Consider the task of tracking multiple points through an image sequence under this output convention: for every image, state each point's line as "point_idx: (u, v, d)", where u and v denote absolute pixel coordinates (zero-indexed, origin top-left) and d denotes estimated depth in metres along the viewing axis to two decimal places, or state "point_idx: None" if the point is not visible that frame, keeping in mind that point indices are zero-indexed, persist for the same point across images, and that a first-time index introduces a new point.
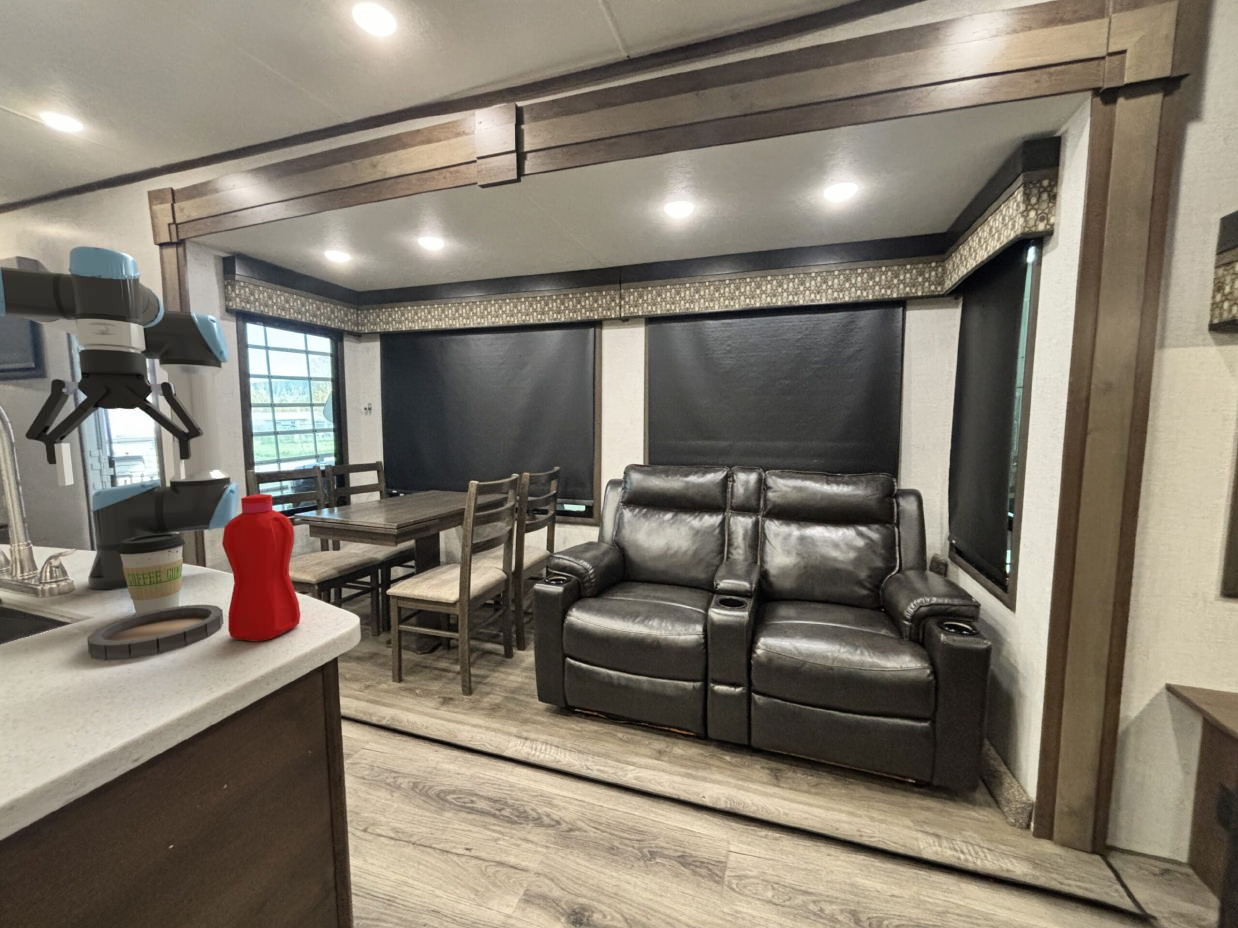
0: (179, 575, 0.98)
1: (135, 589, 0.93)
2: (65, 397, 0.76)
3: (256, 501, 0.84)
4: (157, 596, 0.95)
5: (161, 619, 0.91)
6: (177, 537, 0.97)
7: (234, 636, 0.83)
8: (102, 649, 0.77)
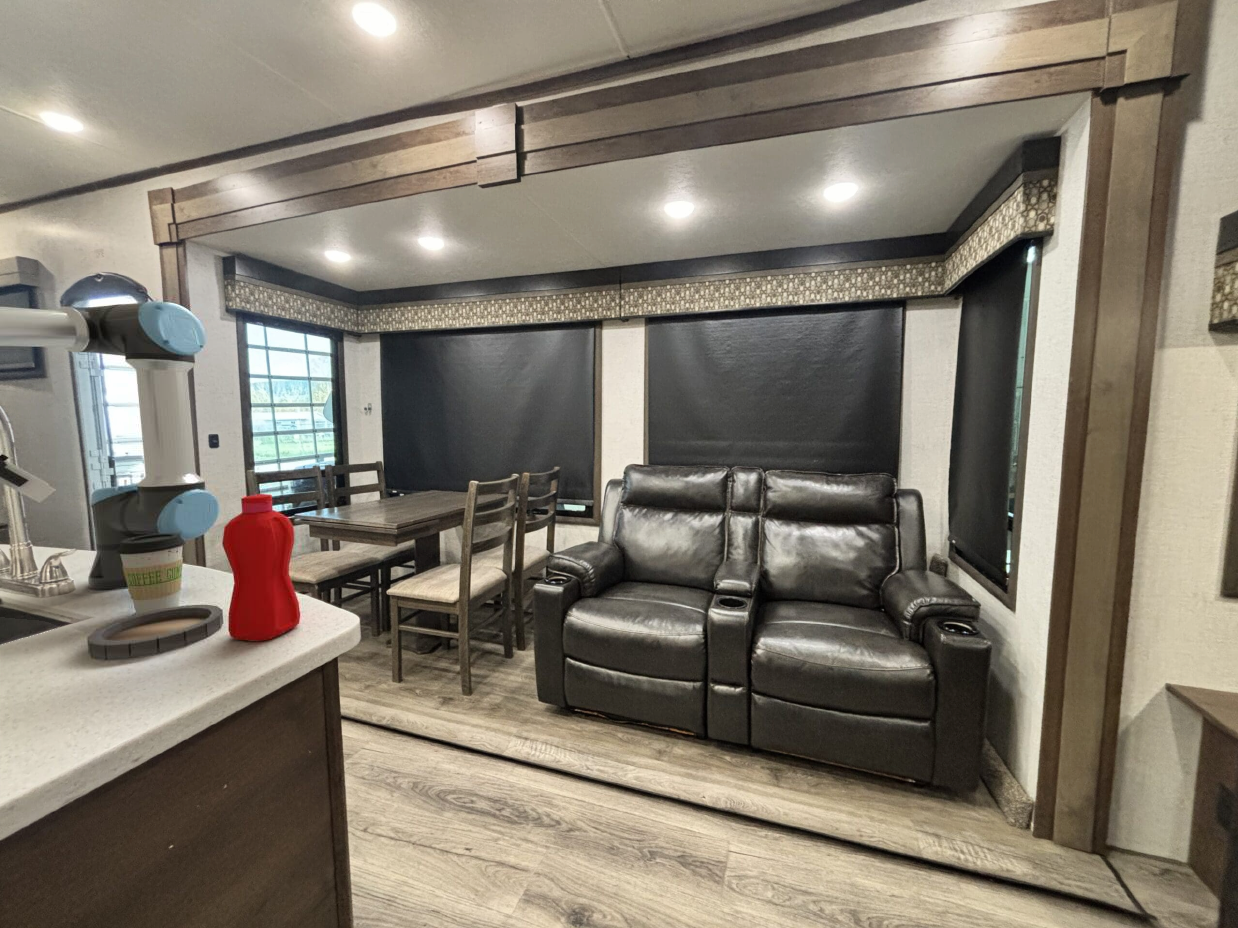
0: (179, 575, 0.98)
1: (135, 589, 0.93)
2: None
3: (256, 501, 0.84)
4: (157, 596, 0.95)
5: (161, 619, 0.91)
6: (177, 537, 0.97)
7: (234, 636, 0.83)
8: (102, 649, 0.77)
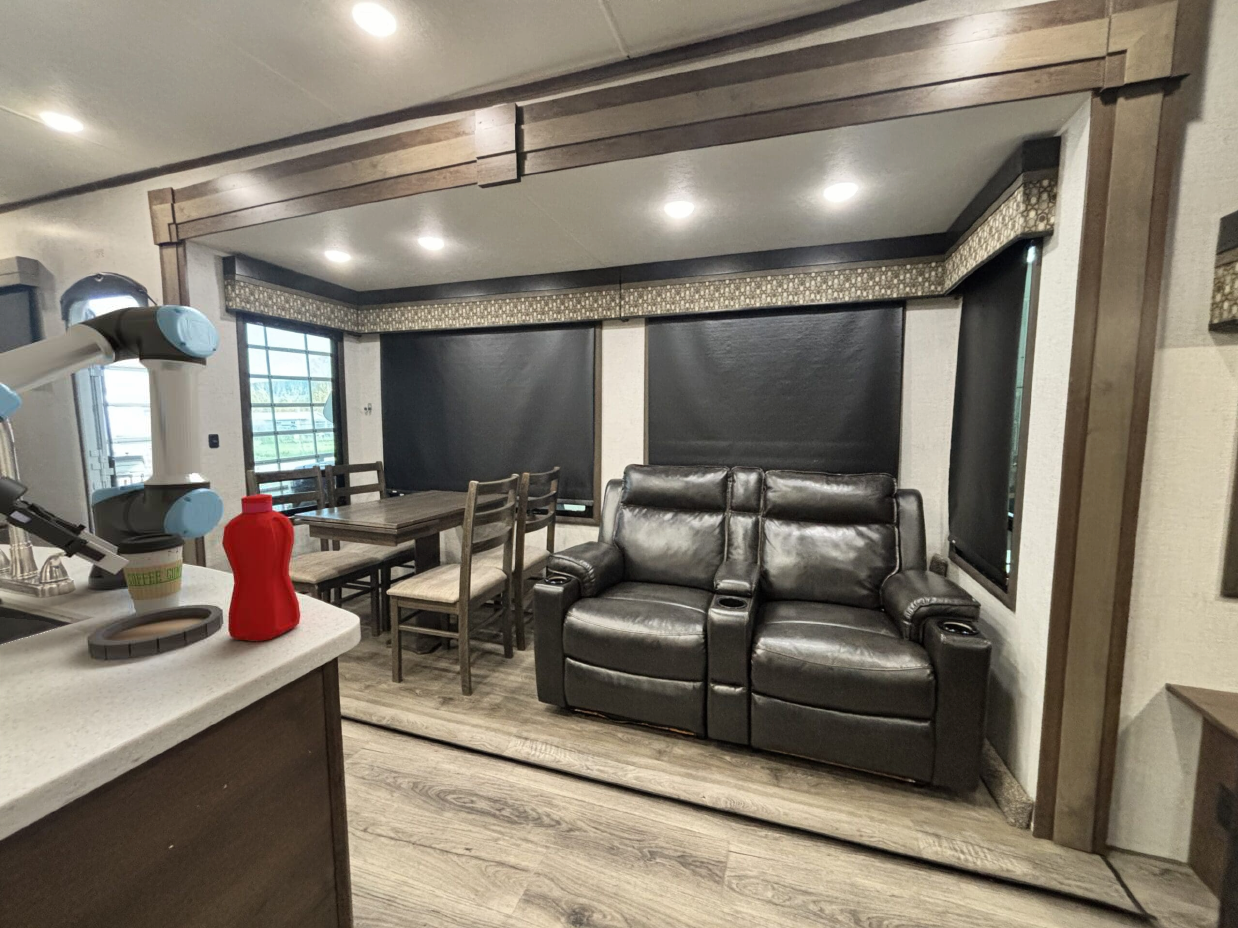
0: (179, 575, 0.98)
1: (135, 589, 0.93)
2: None
3: (256, 501, 0.84)
4: (157, 596, 0.95)
5: (161, 619, 0.91)
6: (177, 537, 0.97)
7: (234, 636, 0.83)
8: (102, 649, 0.77)
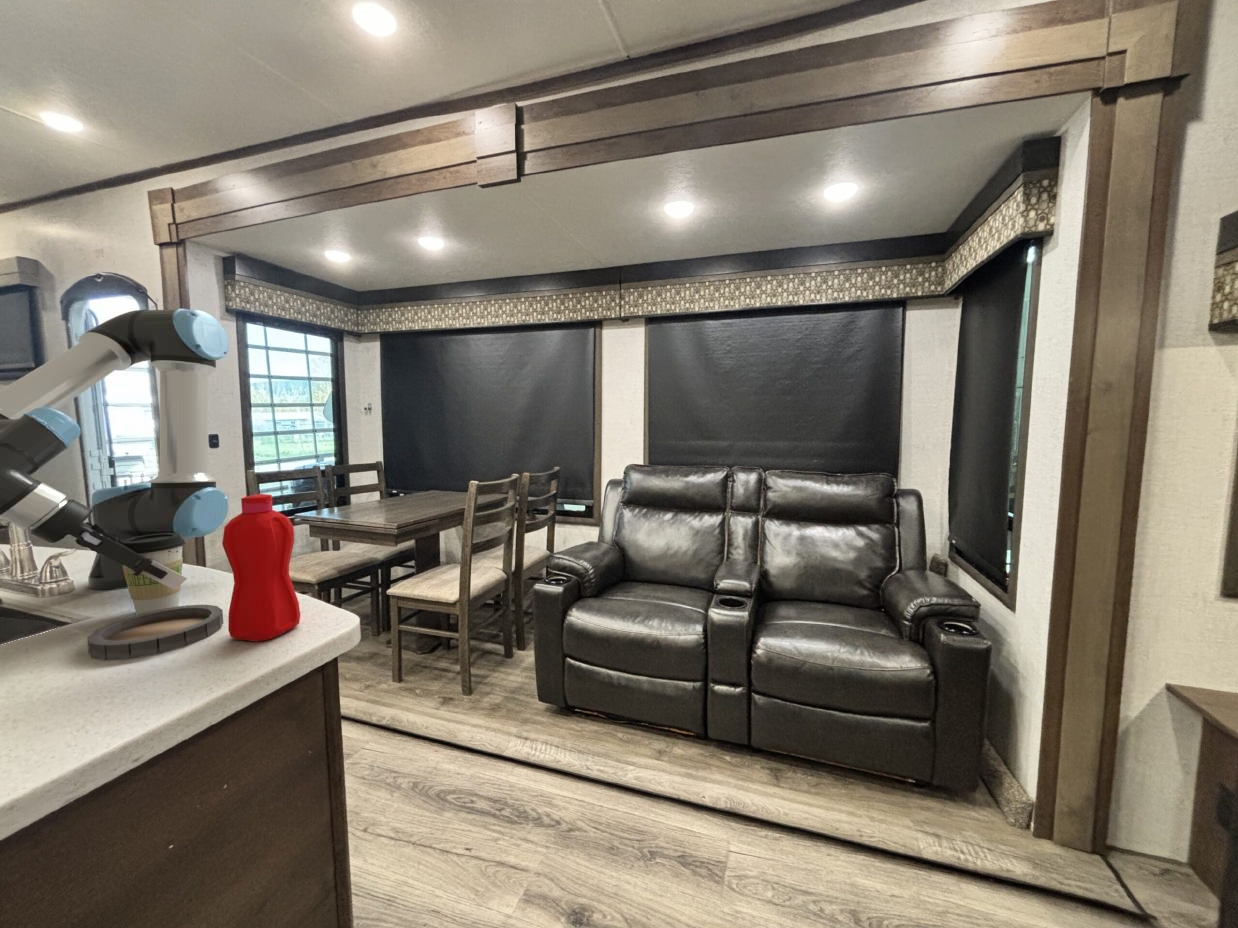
0: None
1: (135, 589, 0.93)
2: None
3: (256, 501, 0.84)
4: (157, 596, 0.95)
5: (161, 619, 0.91)
6: (177, 537, 0.97)
7: (234, 636, 0.83)
8: (102, 649, 0.77)
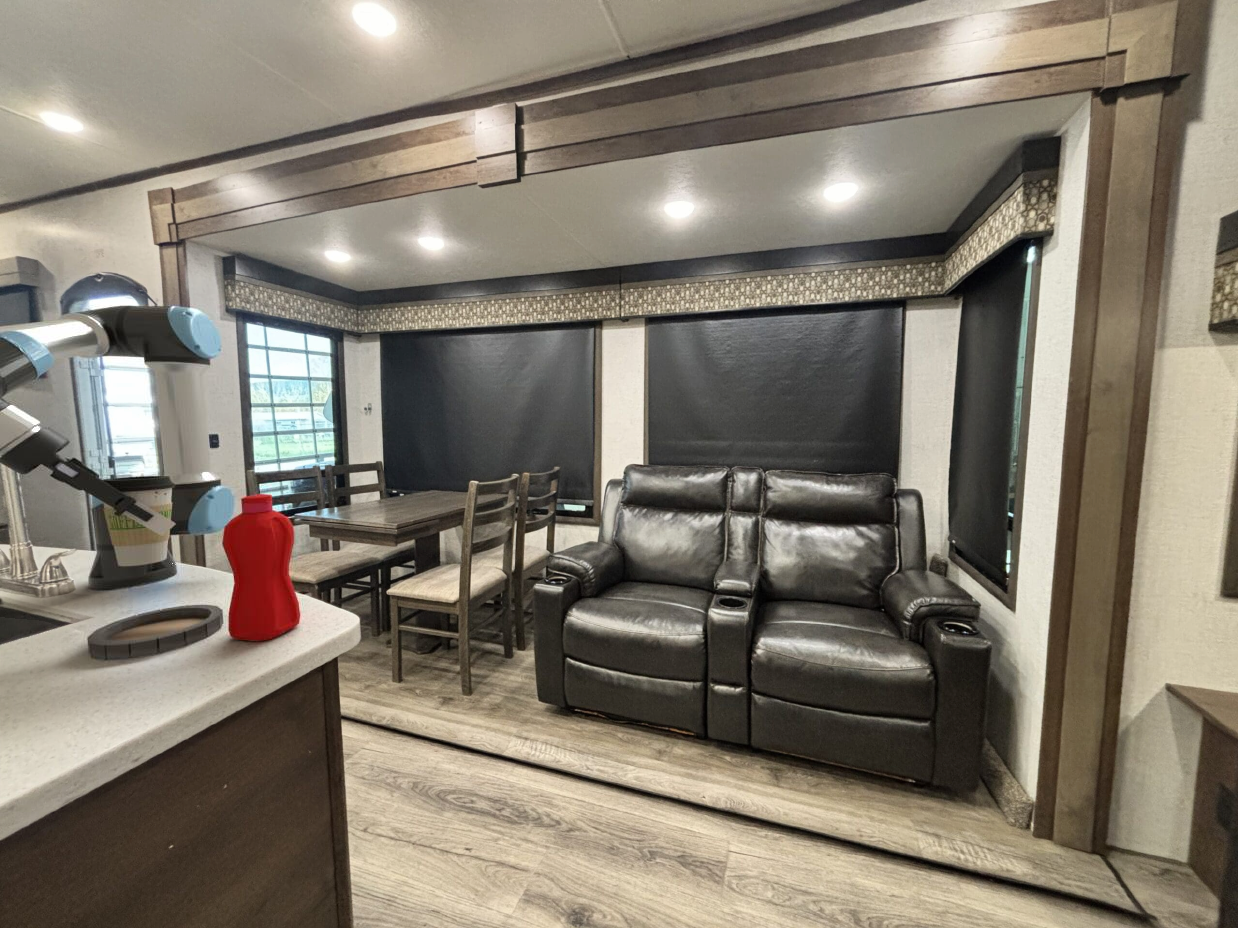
0: None
1: (117, 533, 0.83)
2: None
3: (256, 501, 0.84)
4: (141, 542, 0.84)
5: (161, 619, 0.91)
6: (166, 478, 0.87)
7: (234, 636, 0.83)
8: (102, 649, 0.77)
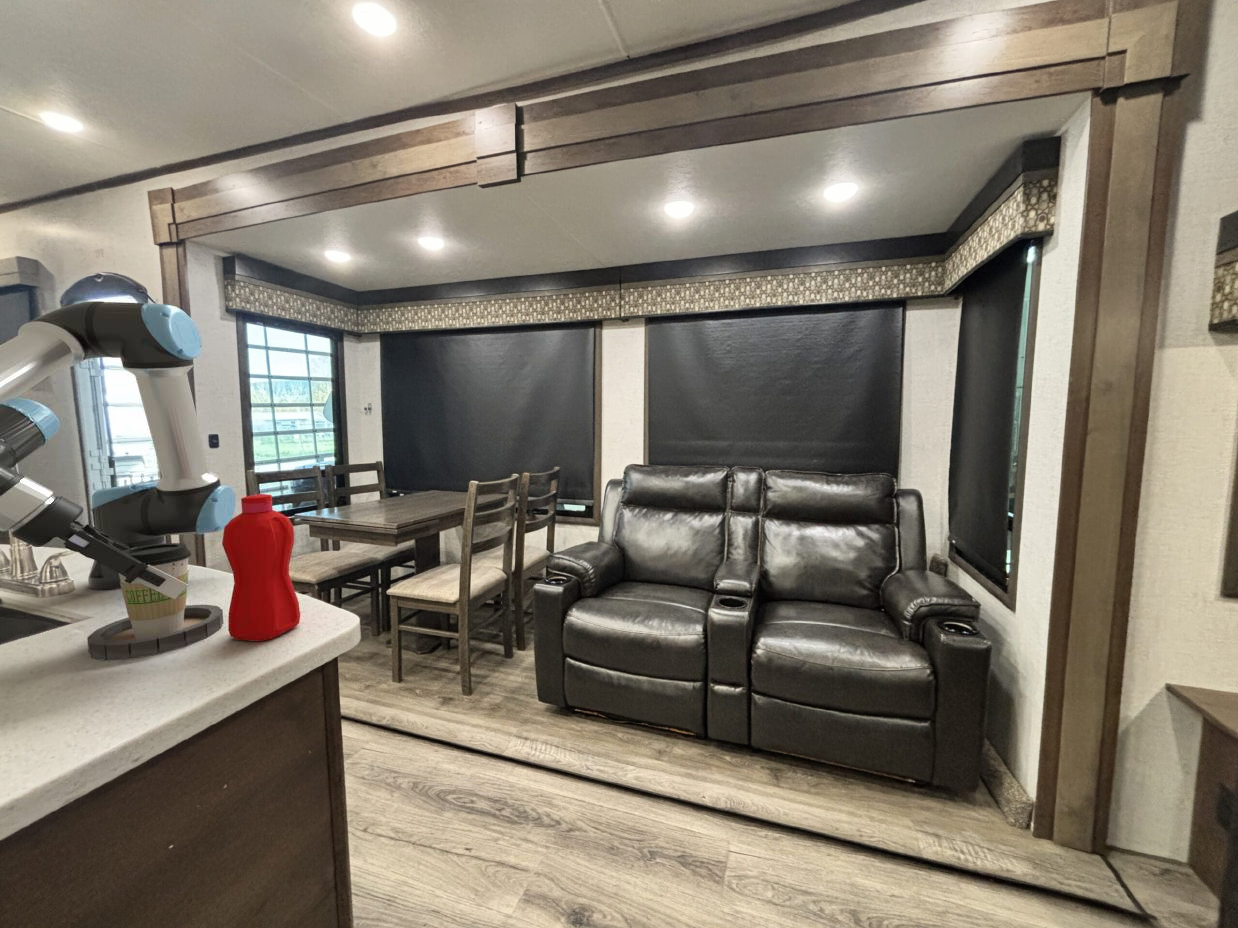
0: (184, 591, 0.86)
1: (134, 608, 0.81)
2: None
3: (256, 501, 0.84)
4: (158, 616, 0.83)
5: None
6: (182, 548, 0.86)
7: (234, 636, 0.83)
8: (102, 649, 0.77)
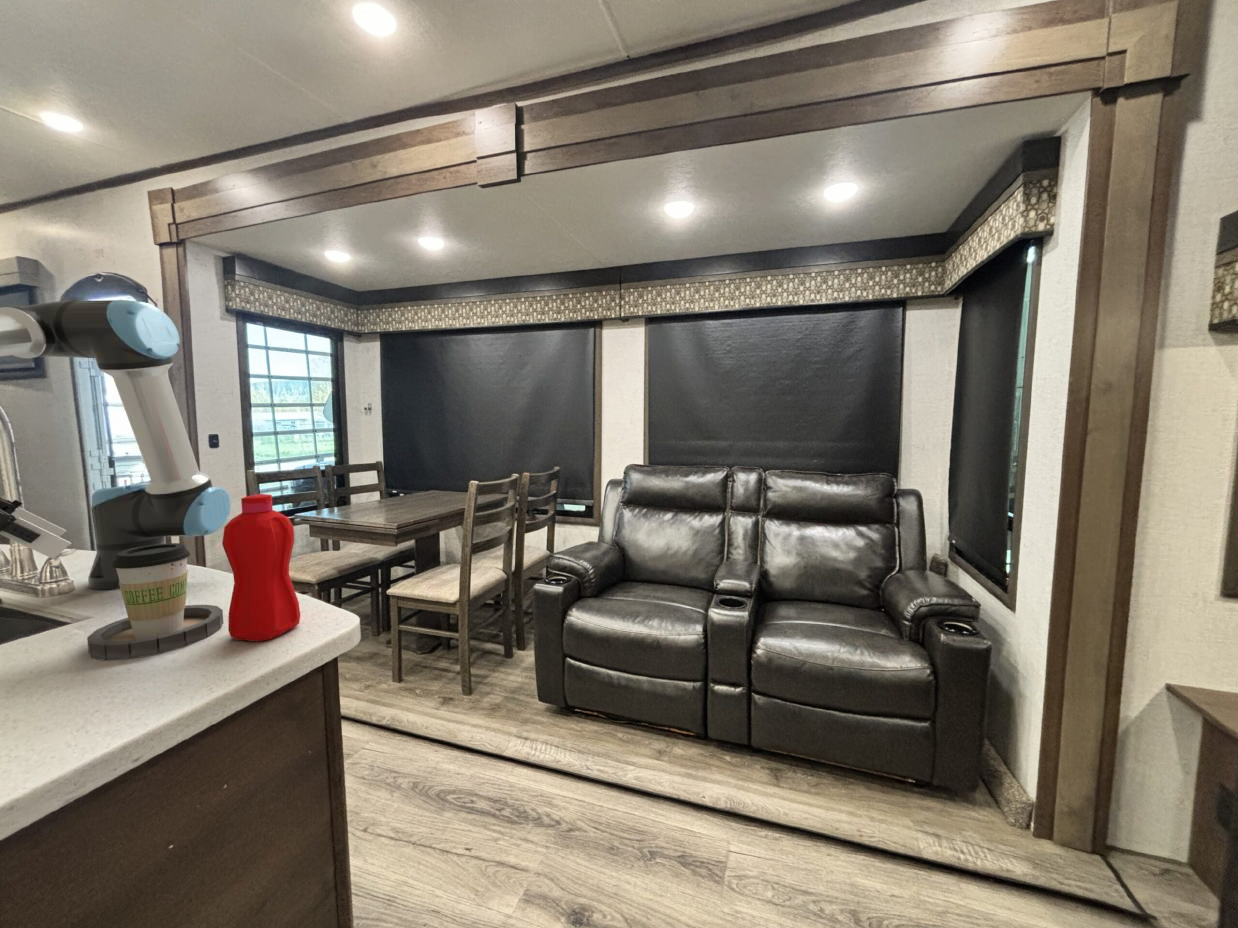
0: (183, 591, 0.86)
1: (133, 608, 0.81)
2: None
3: (256, 501, 0.84)
4: (158, 616, 0.83)
5: None
6: (181, 548, 0.85)
7: (234, 636, 0.83)
8: (102, 649, 0.77)
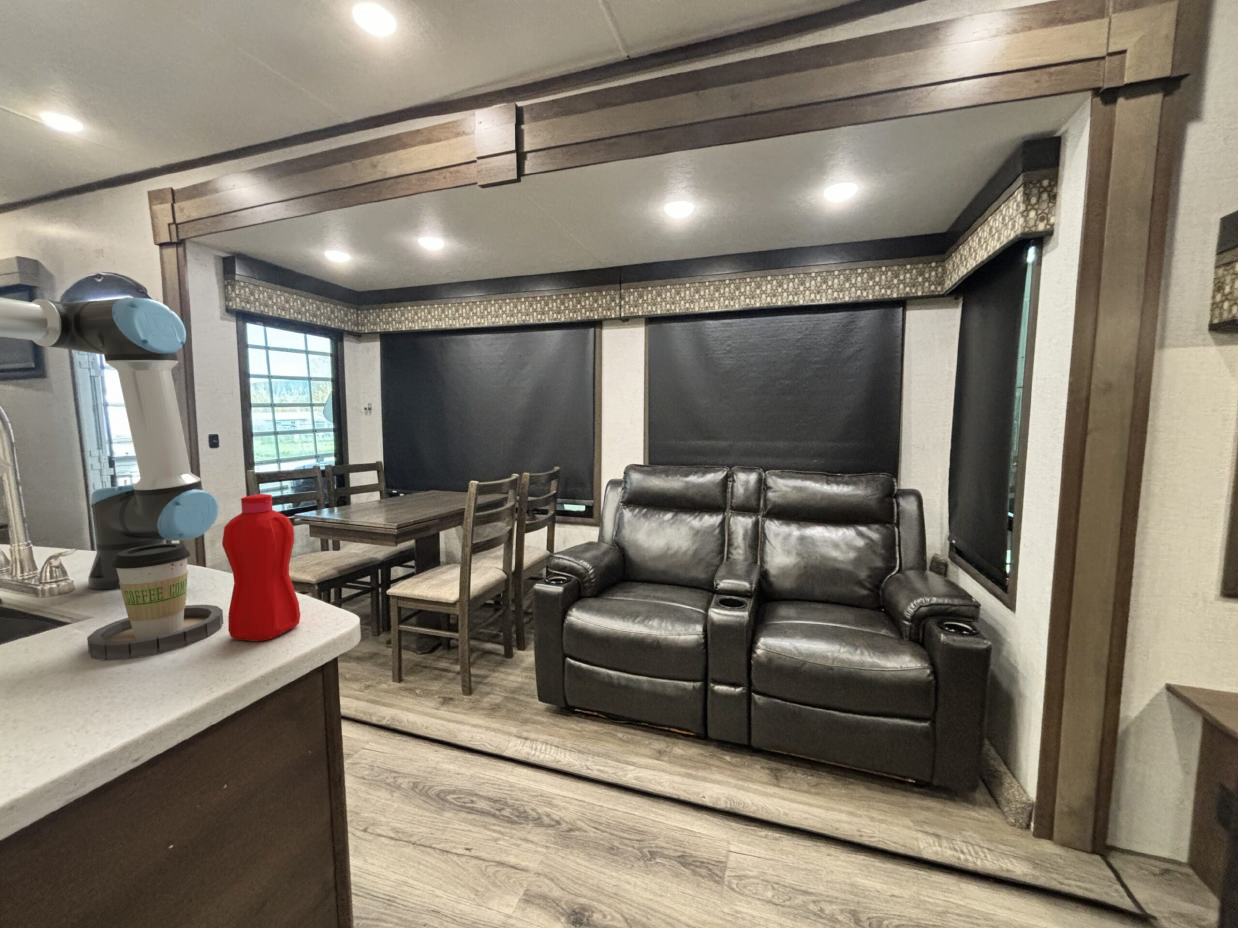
0: (183, 591, 0.86)
1: (133, 608, 0.81)
2: None
3: (256, 501, 0.84)
4: (158, 616, 0.83)
5: None
6: (181, 548, 0.85)
7: (234, 636, 0.83)
8: (102, 649, 0.77)
